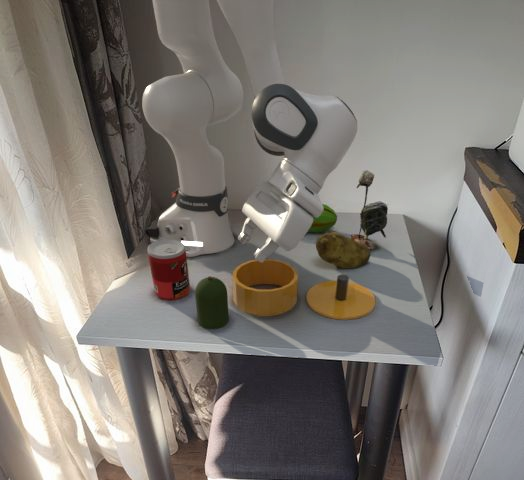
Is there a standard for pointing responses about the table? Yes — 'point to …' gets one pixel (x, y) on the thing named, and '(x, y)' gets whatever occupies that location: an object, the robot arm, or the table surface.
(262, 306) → the pot
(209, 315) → the avocado
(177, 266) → the canned food
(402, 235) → the table surface
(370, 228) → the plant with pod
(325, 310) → the lid
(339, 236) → the potato
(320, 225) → the corn
